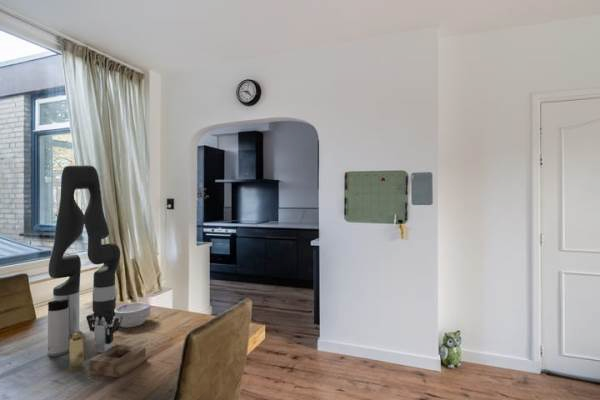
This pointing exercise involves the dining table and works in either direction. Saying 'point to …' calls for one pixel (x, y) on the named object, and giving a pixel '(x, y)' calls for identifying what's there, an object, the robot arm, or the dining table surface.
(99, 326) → the square bit
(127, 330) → the dining table surface
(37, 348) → the dining table surface
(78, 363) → the round bit
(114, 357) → the socket block
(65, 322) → the travel mug
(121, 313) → the white patterned bowl
